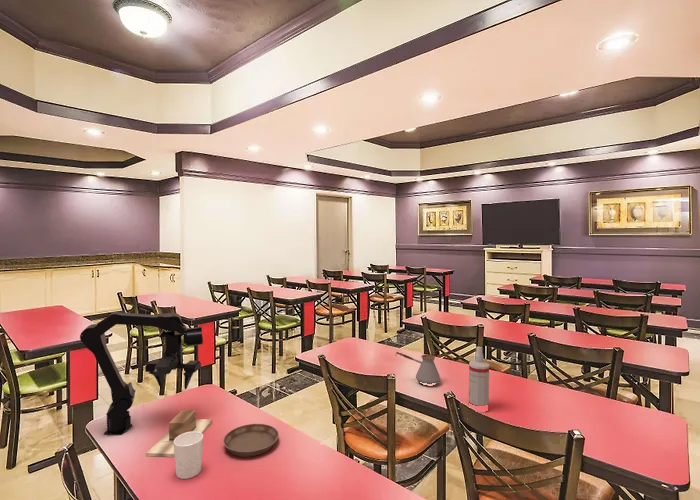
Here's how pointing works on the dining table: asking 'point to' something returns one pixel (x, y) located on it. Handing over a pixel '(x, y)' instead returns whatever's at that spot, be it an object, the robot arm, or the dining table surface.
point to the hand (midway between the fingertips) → (173, 388)
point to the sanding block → (182, 423)
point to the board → (167, 447)
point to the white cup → (188, 454)
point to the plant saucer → (250, 439)
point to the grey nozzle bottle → (478, 380)
